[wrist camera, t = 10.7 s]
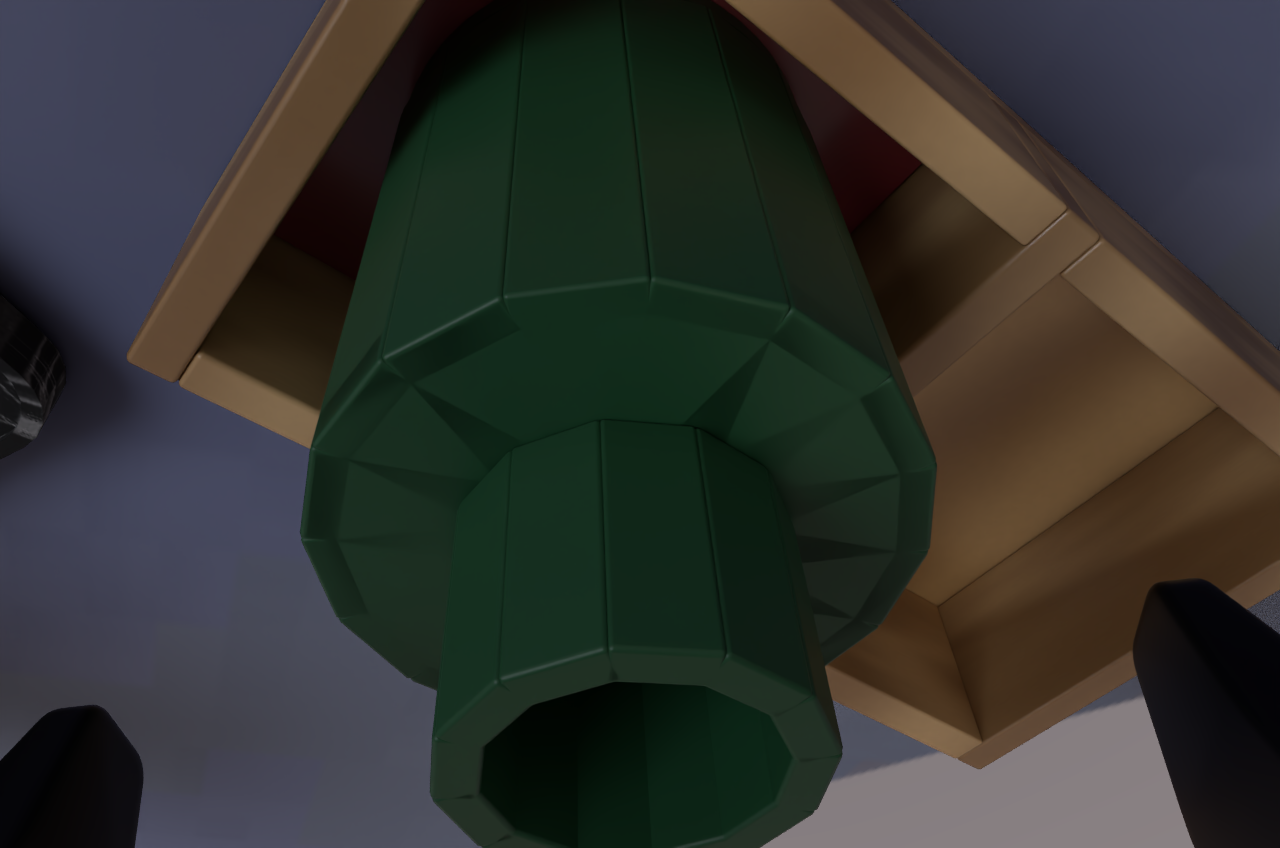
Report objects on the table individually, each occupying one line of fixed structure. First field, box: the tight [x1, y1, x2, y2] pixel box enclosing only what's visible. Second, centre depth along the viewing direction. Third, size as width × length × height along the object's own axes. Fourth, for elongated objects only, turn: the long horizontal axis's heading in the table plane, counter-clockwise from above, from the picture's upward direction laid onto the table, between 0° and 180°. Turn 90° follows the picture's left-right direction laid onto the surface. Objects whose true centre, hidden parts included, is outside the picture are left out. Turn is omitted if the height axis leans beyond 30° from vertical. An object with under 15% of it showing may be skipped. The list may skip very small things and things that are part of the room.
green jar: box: [300, 0, 937, 848], centre depth 12 cm, size 6×6×10 cm
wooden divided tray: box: [127, 0, 1280, 769], centre depth 17 cm, size 17×9×4 cm, turn 52°
